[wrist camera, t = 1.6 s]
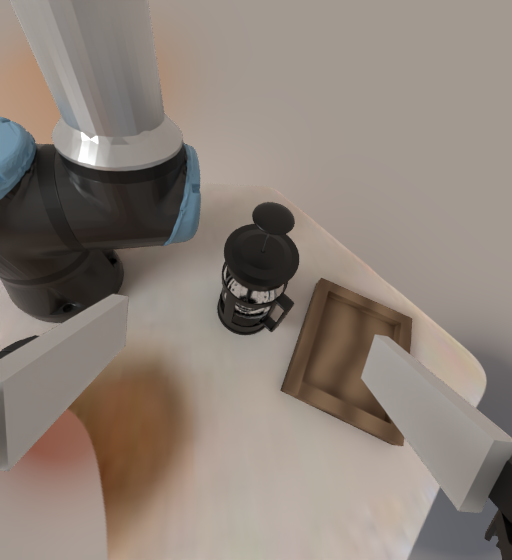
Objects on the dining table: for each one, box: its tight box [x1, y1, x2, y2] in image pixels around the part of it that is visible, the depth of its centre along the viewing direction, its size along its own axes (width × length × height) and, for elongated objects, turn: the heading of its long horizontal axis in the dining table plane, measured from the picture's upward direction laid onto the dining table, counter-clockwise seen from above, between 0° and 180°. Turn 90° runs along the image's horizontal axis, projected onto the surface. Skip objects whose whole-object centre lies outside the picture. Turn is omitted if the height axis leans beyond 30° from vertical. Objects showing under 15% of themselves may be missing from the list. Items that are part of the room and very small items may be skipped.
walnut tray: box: [281, 278, 412, 446], centre depth 41 cm, size 18×21×2 cm
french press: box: [217, 202, 299, 335], centre depth 33 cm, size 12×9×23 cm
